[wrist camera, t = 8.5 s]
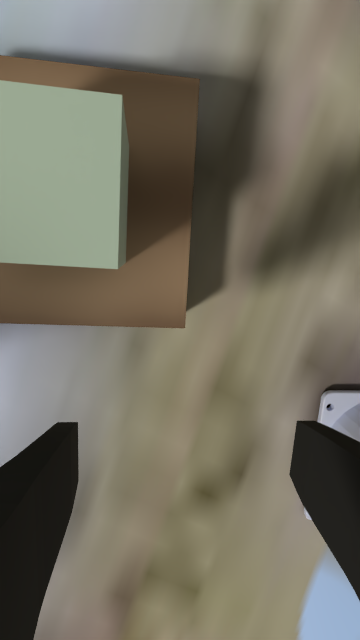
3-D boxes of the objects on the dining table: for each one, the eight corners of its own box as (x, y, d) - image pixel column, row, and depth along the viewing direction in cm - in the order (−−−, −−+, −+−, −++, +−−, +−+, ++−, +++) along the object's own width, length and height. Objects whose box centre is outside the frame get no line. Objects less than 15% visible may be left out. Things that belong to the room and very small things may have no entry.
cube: (125, 262, 15) (117, 269, 11) (13, 255, 15) (-51, 259, 10) (129, 146, 14) (122, 95, 10) (8, 134, 14) (-65, 72, 9)
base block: (178, 316, 19) (184, 328, 16) (-22, 309, 18) (-53, 321, 15) (189, 107, 17) (199, 79, 14) (-38, 83, 16) (-79, 45, 13)
